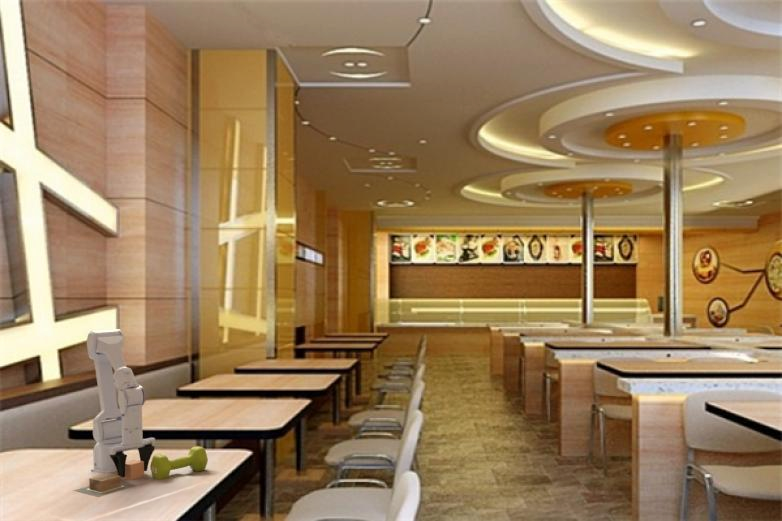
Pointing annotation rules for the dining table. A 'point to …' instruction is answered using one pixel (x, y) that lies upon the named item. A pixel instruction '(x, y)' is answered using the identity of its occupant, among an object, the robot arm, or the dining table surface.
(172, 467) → the dumbbell
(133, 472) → the top block
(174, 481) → the dining table surface
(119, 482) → the base block
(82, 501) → the dining table surface
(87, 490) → the grey square base plate
